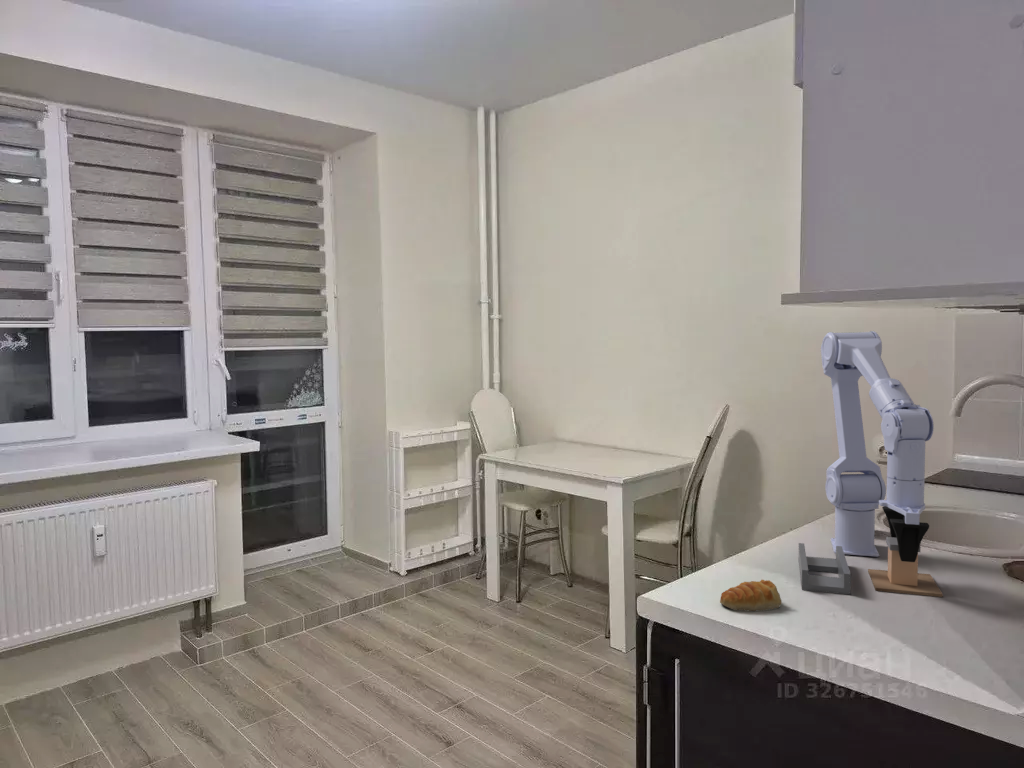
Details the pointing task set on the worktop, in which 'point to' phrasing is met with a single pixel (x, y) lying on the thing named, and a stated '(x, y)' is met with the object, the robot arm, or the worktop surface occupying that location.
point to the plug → (900, 566)
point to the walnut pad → (923, 585)
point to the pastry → (752, 596)
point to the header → (825, 565)
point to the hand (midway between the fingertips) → (903, 554)
